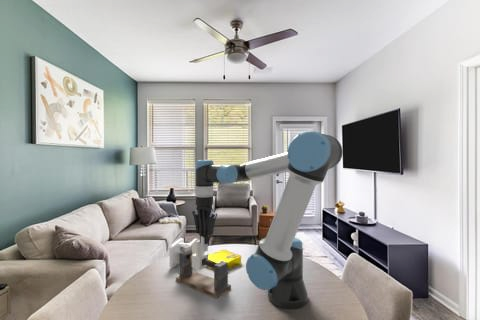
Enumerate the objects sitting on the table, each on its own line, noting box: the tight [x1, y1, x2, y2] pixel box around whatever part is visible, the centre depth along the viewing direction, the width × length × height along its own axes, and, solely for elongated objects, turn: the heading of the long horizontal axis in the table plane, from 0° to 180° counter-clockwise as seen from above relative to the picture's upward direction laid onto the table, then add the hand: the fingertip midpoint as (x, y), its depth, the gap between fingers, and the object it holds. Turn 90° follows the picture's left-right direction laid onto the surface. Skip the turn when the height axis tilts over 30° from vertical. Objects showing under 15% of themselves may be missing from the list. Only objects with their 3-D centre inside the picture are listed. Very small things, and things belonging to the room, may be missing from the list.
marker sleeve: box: [192, 239, 210, 271], centre depth 105 cm, size 5×5×11 cm
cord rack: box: [175, 244, 232, 299], centre depth 104 cm, size 24×9×14 cm, turn 54°
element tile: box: [207, 249, 242, 271], centre depth 126 cm, size 15×15×5 cm
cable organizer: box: [168, 237, 199, 268], centre depth 126 cm, size 15×11×12 cm
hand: (204, 251), depth 104 cm, fingers closed
